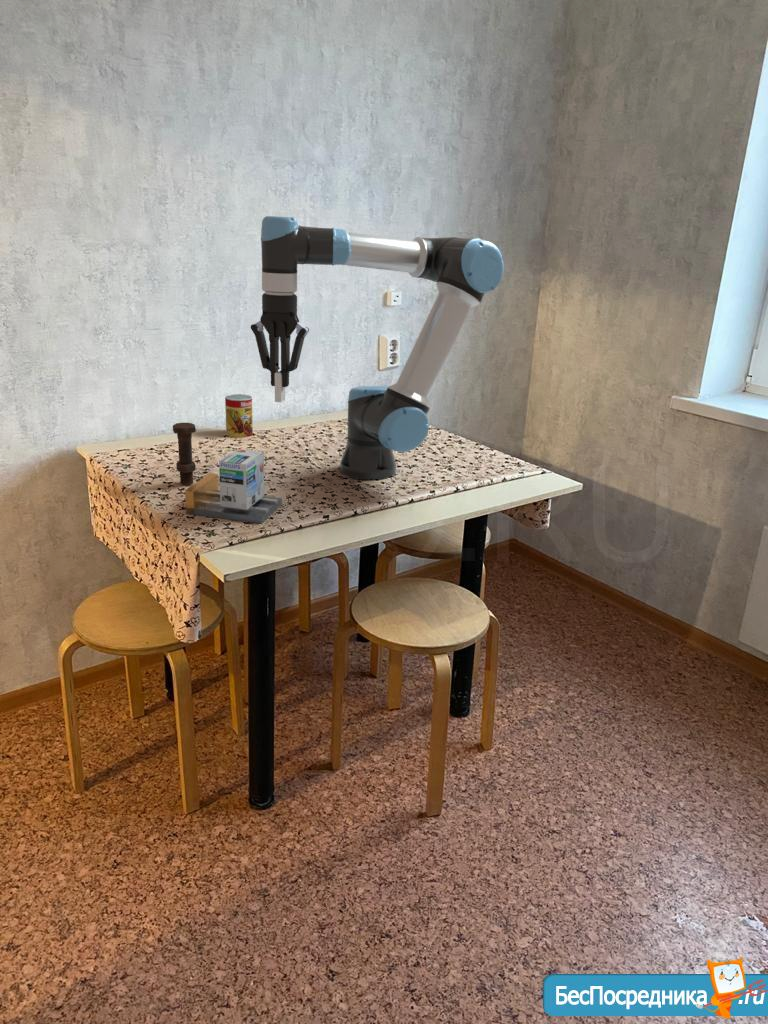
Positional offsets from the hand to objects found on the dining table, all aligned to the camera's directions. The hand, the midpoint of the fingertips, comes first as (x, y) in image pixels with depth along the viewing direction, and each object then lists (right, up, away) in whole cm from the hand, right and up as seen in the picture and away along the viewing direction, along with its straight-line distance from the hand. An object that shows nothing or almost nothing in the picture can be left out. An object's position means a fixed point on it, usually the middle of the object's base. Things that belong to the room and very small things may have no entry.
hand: (280, 400), depth 174 cm
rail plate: (-11, -24, +3) cm, 27 cm away
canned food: (-20, -2, +60) cm, 63 cm away
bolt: (-26, -18, +18) cm, 36 cm away
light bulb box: (-9, -23, +2) cm, 25 cm away
